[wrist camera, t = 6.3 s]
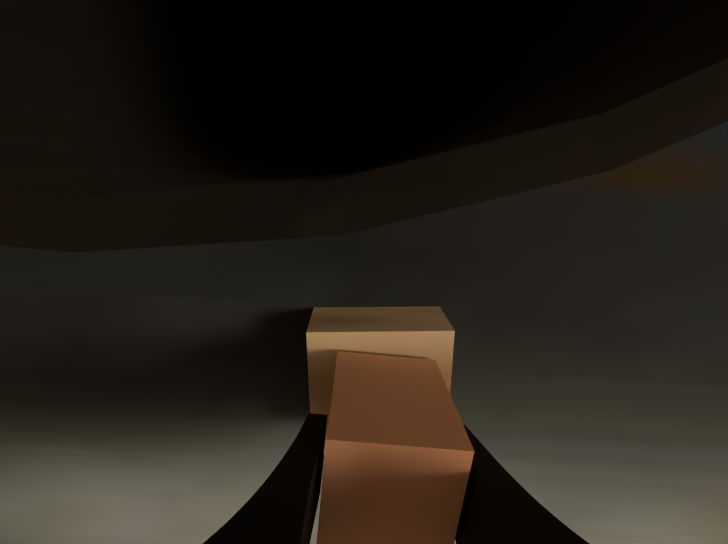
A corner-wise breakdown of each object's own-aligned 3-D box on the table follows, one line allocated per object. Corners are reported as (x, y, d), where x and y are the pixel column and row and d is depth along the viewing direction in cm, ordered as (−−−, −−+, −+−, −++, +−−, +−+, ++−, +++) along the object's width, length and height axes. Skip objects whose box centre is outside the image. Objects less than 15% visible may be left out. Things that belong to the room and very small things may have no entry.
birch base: (431, 409, 19) (445, 452, 16) (318, 411, 19) (312, 454, 16) (437, 304, 17) (454, 330, 14) (314, 305, 17) (306, 332, 14)
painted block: (420, 442, 15) (449, 563, 11) (329, 435, 15) (315, 554, 10) (435, 360, 14) (474, 451, 10) (337, 350, 14) (326, 439, 9)
